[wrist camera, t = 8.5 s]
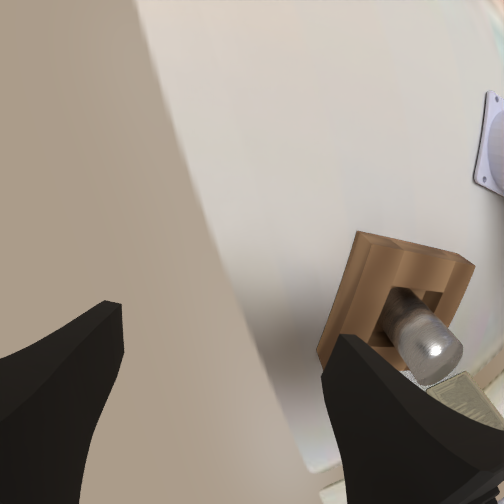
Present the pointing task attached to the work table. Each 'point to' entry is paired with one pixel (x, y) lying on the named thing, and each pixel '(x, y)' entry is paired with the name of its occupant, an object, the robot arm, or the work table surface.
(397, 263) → the socket block
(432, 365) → the pin
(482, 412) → the skincare box
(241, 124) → the work table surface
